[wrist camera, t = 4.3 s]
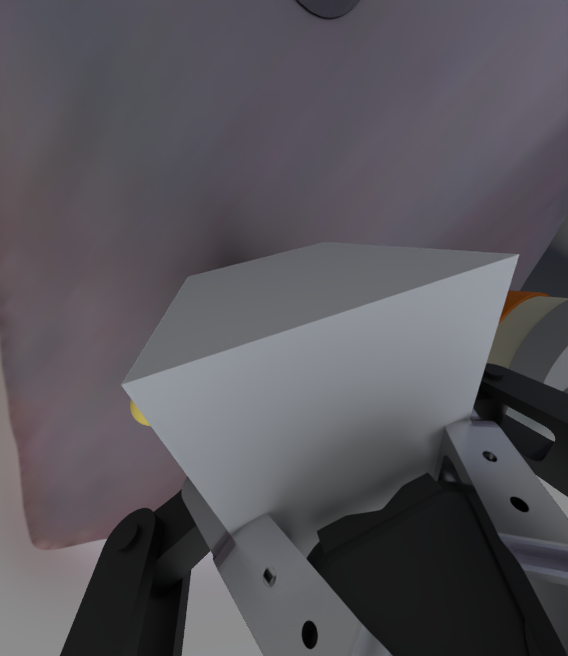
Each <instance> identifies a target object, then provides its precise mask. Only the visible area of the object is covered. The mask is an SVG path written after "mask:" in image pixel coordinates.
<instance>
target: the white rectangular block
mask: <svg viewBox="0 0 568 656" xmlns="http://www.w3.org/2000/svg"><path fill="white" fill-rule="evenodd" d="M518 257H519V254H506V253H490V252H474V251H459V250H443V249H428V248H412V247H396V246H381V245H365V244H349V243H334V242H321V243H317V244H314V245H310V246H306V247H302V248H298V249H294V250H290V251H286V252H282V253H278V254H274V255H270V256H267V257H263V258H259V259H255V260H251V261H247V262H243V263H239V264H235V265H231V266H227V267H223V268H220V269H216V270H212V271H208V272H204V273H200V274H196V275H192V276H188V277H187V279H186V280H185V282H184V284H183V285H182V287H181V288H180V290H179V292H178V293H177V295H176V296H175V298H174V300H173V301H172V303H171V305H170V306H169V308H168V309H167V311H166V313H165V314H164V316H163V317H162V319H161V321H160V322H159V324H158V326H157V327H156V329H155V330H154V332H153V334H152V335H151V337H150V339H149V340H148V342H147V343H146V345H145V347H144V348H143V350H142V351H141V353H140V355H139V356H138V358H137V360H136V361H135V363H134V364H133V366H132V368H131V369H130V371H129V373H128V374H127V376H126V377H125V379H124V381H123V382H122V384H121V386H122V387H123V389H124V390H125V391H126V393H127V394H128V395H129V397H130V398H131V399H132V401H133V402H134V404H135V405H136V406H137V408H138V409H139V410H140V412H141V413H142V414H143V416H144V417H145V419H146V420H147V421H148V423H149V424H150V425H151V427H152V428H153V430H154V431H155V432H156V434H157V435H158V436H159V438H160V439H161V440H162V442H163V443H164V445H165V446H166V447H167V449H168V450H169V451H170V453H171V454H172V455H173V457H174V458H175V460H176V461H177V462H178V464H179V465H180V466H181V468H182V469H183V471H184V472H185V473H186V475H187V476H188V477H189V479H190V480H191V481H192V483H193V484H194V486H195V487H196V488H197V490H198V491H199V492H200V494H201V495H202V496H203V498H204V499H205V501H206V502H207V503H208V505H209V506H210V507H211V509H212V510H213V512H214V513H215V514H216V516H217V517H218V518H219V520H220V521H221V522H222V524H223V525H224V527H225V528H226V529H227V531H228V532H229V533H230V535H232V534H233V533H234V532H235V531H237V530H238V529H239V528H241V527H242V526H243V525H245V524H247V523H248V522H250V521H252V520H253V519H255V518H257V517H259V516H261V515H263V514H265V513H267V514H268V515H269V516H270V518H271V519H272V520H273V521H274V522H275V523H276V525H277V526H278V527H279V528H280V529H281V530H282V532H283V533H284V534H285V535H286V536H287V537H288V538H289V540H290V541H291V542H292V543H293V544H294V545H295V547H296V548H297V549H298V550H299V551H300V552H301V554H302V555H303V556H304V557H305V558H307V556H308V555H309V553H310V552H311V550H312V549H313V547H314V546H315V545H316V544H317V543H318V542H319V538H318V534H317V530H319V529H321V528H323V527H325V526H327V525H329V524H331V523H332V522H334V521H336V520H338V519H340V518H342V517H344V516H346V515H351V514H358V513H365V512H372V511H378V510H381V509H383V508H384V507H385V505H386V504H387V503H388V502H389V501H390V500H391V498H392V497H393V496H394V495H395V494H396V493H397V492H398V490H399V489H400V488H401V487H402V486H403V485H405V484H407V483H408V482H410V481H412V480H414V479H416V478H418V477H420V476H422V475H424V474H425V473H427V472H428V473H429V474H430V475H431V476H432V477H433V475H434V471H435V466H436V462H437V457H438V453H439V449H440V444H441V440H442V435H443V431H444V426H446V425H448V424H451V423H453V422H456V421H459V420H462V419H470V416H471V413H472V409H473V406H474V403H475V399H476V396H477V393H478V389H479V386H480V383H481V379H482V376H483V373H484V369H485V366H486V363H487V359H488V356H489V353H490V349H491V346H492V343H493V340H494V336H495V333H496V330H497V326H498V323H499V320H500V316H501V313H502V310H503V306H504V303H505V300H506V296H507V293H508V290H509V286H510V283H511V280H512V276H513V273H514V270H515V267H516V263H517V260H518Z"/></svg>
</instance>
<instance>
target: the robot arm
mask: <svg viewBox="0 0 568 656" xmlns="http://www.w3.org/2000/svg"><path fill="white" fill-rule="evenodd" d="M298 1H299V2H300V3H301V4H302V5H304V6H305V7H306V8H307V9H308V10H309V11H311V12H313V13H315V14H317V15H319V16H321V17H329V18H333V17H338V16H342V15H344V14H345V13H347V12H348V11H350V10H351V9H352V8H353V7H354V6H355V5H356V4H357V3H358V2H359V1H360V0H298ZM508 407H510V408H512V409H514V410H516V411H518V412H520V413H521V414H524V415H525V416H527V417H529V418H531V419H533V420H535V421H536V422H538V423H540V424H542V425H544V426H545V427H547V428H548V429H549V430H551V432H552V433H553V434H554V436H555V442H554V441H552V440H550V439H548V438H546V437H544V436H542V435H541V434H539V433H537V432H535V431H533V430H532V429H530V428H528V427H527V426H525V425H523V424H521V423H520V422H518V421H516V420H514V419H513V418H511V417H509V416H507V415H506V411H507V409H508ZM536 475H537V476H538V477H540V478H541V479H543V480H544V481H546V482H547V483H549V484H550V485H551V486H553V487H554V488H556V489H557V490H558V491H560V492H561V493H563V494H564V495H566V496H567V497H568V393H565V392H563V391H560V390H558V389H556V388H553V387H551V386H548V385H546V384H543V383H541V382H539V381H536V380H534V379H531V378H529V377H527V376H524V375H522V374H519V373H517V372H515V371H512V370H510V369H507V368H505V367H502V366H499V365H496V364H490V363H486V366H485V369H484V373H483V376H482V379H481V383H480V386H479V389H478V393H477V396H476V399H475V403H474V406H473V409H472V413H471V416H470V419H462V420H459V421H456V422H453V423H451V424H448V425H446V426H444V431H443V435H442V440H441V444H440V449H439V453H438V457H437V462H436V466H435V471H434V475H433V477H432V476H431V475H430V474H429V473H428V472H427V473H425V474H424V475H422V476H420V477H418V478H416V479H414V480H412V481H410V482H408V483H407V484H405V485H403V486H402V487H401V488H400V489H399V490H398V492H397V493H396V494H395V495H394V496H393V497H392V498H391V500H390V501H389V502H388V503H387V504H386V505H385V507H384V508H383V509H381V510H378V511H372V512H365V513H358V514H351V515H346V516H344V517H342V518H340V519H338V520H336V521H334V522H332V523H331V524H329V525H327V526H325V527H323V528H321V529H319V530H317V534H318V538H319V542H318V543H317V544H316V545H315V546H314V547H313V549H312V550H311V552H310V553H309V555H308V556H307V558H305V557H304V556H303V555H302V554H301V552H300V551H299V550H298V549H297V548H296V547H295V545H294V544H293V543H292V542H291V541H290V540H289V538H288V537H287V536H286V535H285V534H284V533H283V532H282V530H281V529H280V528H279V527H278V526H277V525H276V523H275V522H274V521H273V520H272V519H271V518H270V516H269V515H268V514H267V513H265V514H263V515H261V516H259V517H257V518H255V519H253V520H252V521H250V522H248V523H247V524H245V525H243V526H242V527H241V528H239V529H238V530H237V531H235V532H234V533H233V534H232V535H230V533H229V532H228V531H227V529H226V528H225V527H224V525H223V524H222V522H221V521H220V520H219V518H218V517H217V516H216V514H215V513H214V512H213V510H212V509H211V507H210V506H209V505H208V503H207V502H206V501H205V499H204V498H203V496H202V495H201V494H200V492H199V491H198V490H197V488H196V487H195V486H194V484H193V483H192V481H191V480H190V479H189V477H188V476H187V477H186V479H185V481H184V483H183V486H182V489H181V490H180V491H179V492H178V493H177V494H176V495H175V496H174V497H172V498H171V499H170V500H168V501H167V502H166V503H165V504H163V505H162V506H161V507H159V508H158V509H157V510H156V511H154V512H153V511H152V510H150V509H148V508H141V509H138V510H136V511H134V512H132V513H130V514H129V515H128V516H126V517H125V518H124V519H123V520H122V521H121V522H120V523H119V524H118V525H117V526H116V527H115V529H114V530H113V531H112V533H111V534H110V536H109V537H108V539H107V541H106V543H105V545H104V547H103V549H102V552H101V554H100V557H99V559H98V562H97V564H96V567H95V570H94V572H93V575H92V577H91V579H90V582H89V584H88V587H87V589H86V592H85V595H84V597H83V599H82V602H81V604H80V607H79V609H78V612H77V614H76V617H75V619H74V622H73V624H72V627H71V629H70V632H69V634H68V637H67V639H66V642H65V644H64V647H63V649H62V652H61V654H60V656H181V655H182V646H183V638H184V629H185V620H186V611H187V602H188V594H189V585H190V576H191V569H192V568H193V567H194V566H195V565H196V564H197V563H198V562H199V561H200V560H201V559H203V558H204V556H206V555H207V554H208V553H209V552H210V551H211V552H212V554H213V561H214V563H215V565H216V567H217V569H218V571H219V573H220V575H221V577H222V579H223V581H224V583H225V584H226V586H227V588H228V590H229V592H230V594H231V596H232V598H233V599H234V601H235V603H236V605H237V607H238V609H239V611H240V613H241V615H242V616H243V618H244V620H245V622H246V624H247V626H248V628H249V629H250V631H251V633H252V635H253V637H254V639H255V641H256V643H257V645H258V646H259V648H260V650H261V652H262V654H263V656H568V518H567V516H566V515H565V514H564V513H563V511H562V510H561V508H560V507H559V506H558V504H557V503H556V502H555V501H554V499H553V498H552V496H551V495H550V494H549V492H548V491H547V490H546V488H545V487H544V486H543V484H542V483H541V482H540V480H539V479H538V478H537V476H536Z"/></svg>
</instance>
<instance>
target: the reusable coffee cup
mask: <svg viewBox="0 0 568 656" xmlns="http://www.w3.org/2000/svg"><path fill="white" fill-rule="evenodd" d="M487 363H490V364H496V365H499V366H502V367H505V368H507V369H510V370H512V371H515V372H517V373H519V374H522V375H524V376H527V377H529V378H531V379H534V380H536V381H539V382H541V383H543V384H546V385H548V386H551V387H553V388H556V389H558V390H560V391H563V392H565V393H568V299H566V298H556V297H549V296H548V295H547V294H545V293H537V292H524V291H510V290H508V293H507V296H506V300H505V303H504V306H503V310H502V313H501V316H500V320H499V323H498V326H497V330H496V333H495V336H494V340H493V343H492V346H491V349H490V353H489V356H488V359H487Z"/></svg>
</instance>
